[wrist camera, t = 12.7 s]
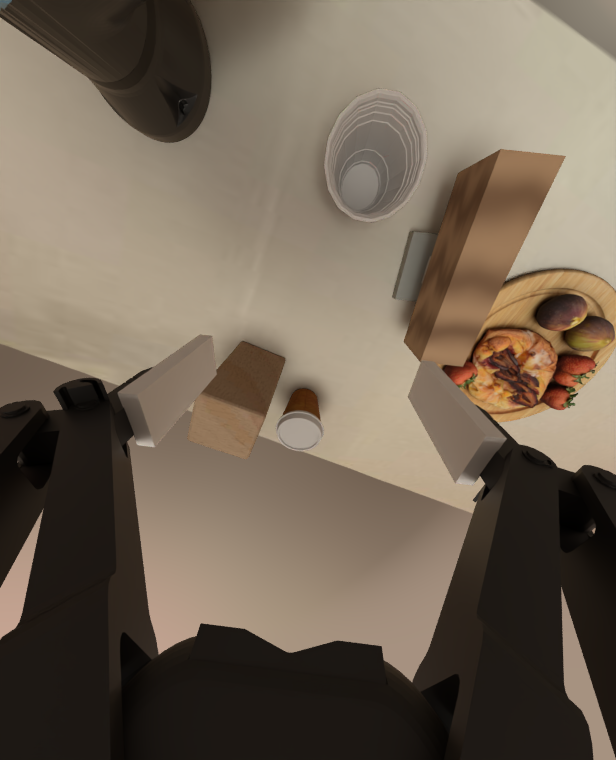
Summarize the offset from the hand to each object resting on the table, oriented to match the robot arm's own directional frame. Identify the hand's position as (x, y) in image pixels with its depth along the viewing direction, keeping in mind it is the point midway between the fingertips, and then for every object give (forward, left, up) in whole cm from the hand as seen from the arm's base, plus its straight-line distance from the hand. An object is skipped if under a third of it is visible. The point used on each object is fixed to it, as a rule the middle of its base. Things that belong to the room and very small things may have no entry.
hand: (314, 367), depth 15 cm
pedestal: (-5, +18, -32) cm, 37 cm away
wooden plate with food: (+9, +40, -32) cm, 52 cm away
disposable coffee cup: (+25, -1, -32) cm, 41 cm away
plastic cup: (-15, +4, -32) cm, 35 cm away
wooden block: (+18, -12, -32) cm, 39 cm away
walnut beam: (-5, +18, -25) cm, 31 cm away
